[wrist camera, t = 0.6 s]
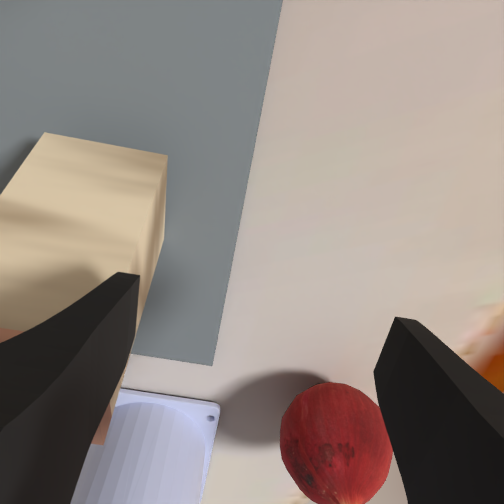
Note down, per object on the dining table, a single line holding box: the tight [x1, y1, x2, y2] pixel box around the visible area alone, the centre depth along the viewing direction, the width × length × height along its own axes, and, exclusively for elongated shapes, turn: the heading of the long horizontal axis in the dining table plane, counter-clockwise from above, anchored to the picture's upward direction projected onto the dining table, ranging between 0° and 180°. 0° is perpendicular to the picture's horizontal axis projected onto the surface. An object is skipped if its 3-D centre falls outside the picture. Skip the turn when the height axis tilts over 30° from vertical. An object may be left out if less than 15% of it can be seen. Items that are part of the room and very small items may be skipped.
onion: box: [280, 382, 393, 504], centre depth 24 cm, size 6×6×8 cm
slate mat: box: [0, 0, 283, 366], centre depth 21 cm, size 20×20×1 cm
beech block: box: [0, 132, 168, 445], centre depth 17 cm, size 5×5×10 cm
